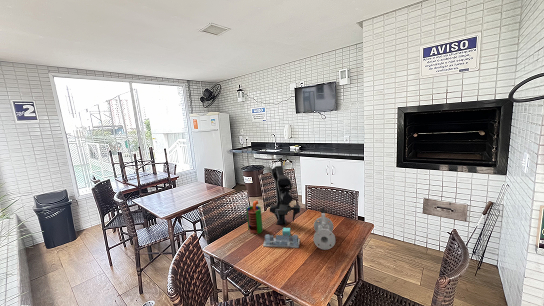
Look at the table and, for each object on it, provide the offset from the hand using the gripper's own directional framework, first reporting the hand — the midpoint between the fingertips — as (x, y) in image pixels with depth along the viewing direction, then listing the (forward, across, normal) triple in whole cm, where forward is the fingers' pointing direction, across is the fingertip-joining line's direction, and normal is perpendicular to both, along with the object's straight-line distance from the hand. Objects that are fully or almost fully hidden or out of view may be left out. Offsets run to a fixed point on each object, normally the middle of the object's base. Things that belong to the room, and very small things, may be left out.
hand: (285, 221), depth 138 cm
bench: (+10, -2, -9) cm, 13 cm away
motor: (+10, -22, +6) cm, 25 cm away
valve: (+10, +23, -2) cm, 25 cm away
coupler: (+10, 0, 0) cm, 10 cm away
